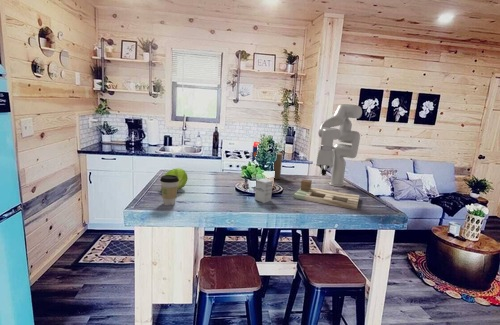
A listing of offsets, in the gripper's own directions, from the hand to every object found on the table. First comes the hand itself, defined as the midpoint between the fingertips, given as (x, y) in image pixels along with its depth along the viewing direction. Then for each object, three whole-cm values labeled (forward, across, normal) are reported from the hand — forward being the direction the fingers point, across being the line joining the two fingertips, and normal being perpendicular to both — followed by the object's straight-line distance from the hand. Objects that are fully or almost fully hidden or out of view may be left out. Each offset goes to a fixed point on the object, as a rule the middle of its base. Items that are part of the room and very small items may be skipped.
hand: (323, 175), depth 200 cm
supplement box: (+12, +29, +35) cm, 47 cm away
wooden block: (+14, +42, -25) cm, 51 cm away
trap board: (+13, -5, +7) cm, 16 cm away
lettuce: (+11, +84, +47) cm, 97 cm away
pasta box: (+14, +49, -5) cm, 51 cm away
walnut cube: (+11, +10, +3) cm, 15 cm away
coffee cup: (+11, +71, +70) cm, 101 cm away
